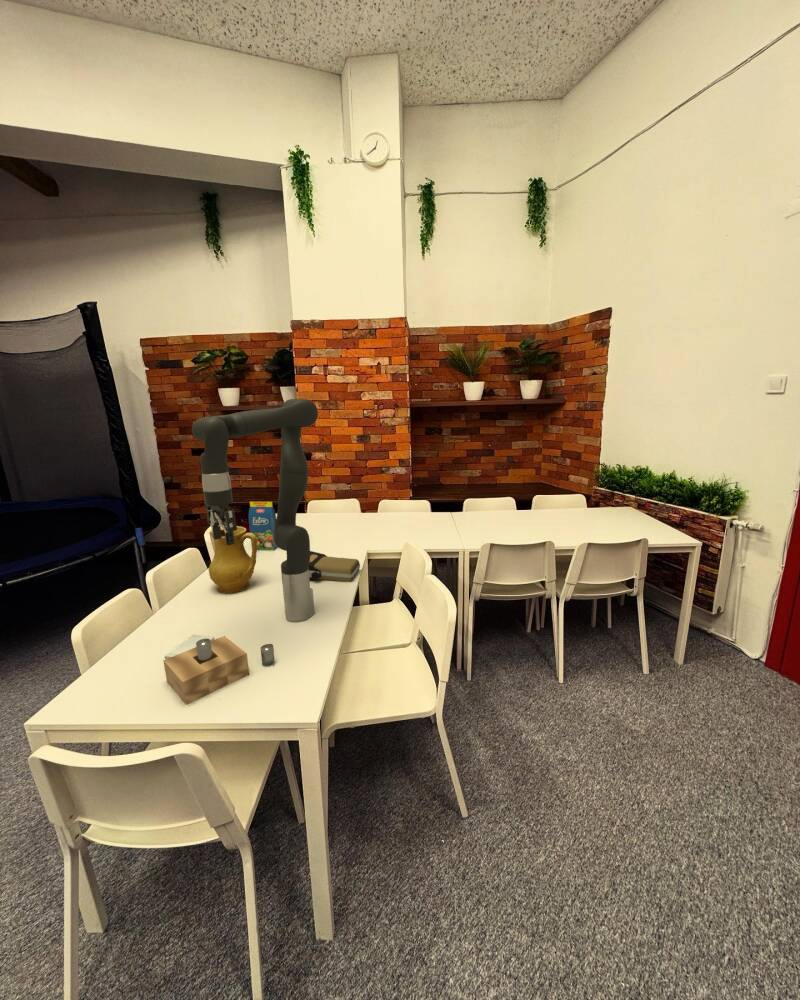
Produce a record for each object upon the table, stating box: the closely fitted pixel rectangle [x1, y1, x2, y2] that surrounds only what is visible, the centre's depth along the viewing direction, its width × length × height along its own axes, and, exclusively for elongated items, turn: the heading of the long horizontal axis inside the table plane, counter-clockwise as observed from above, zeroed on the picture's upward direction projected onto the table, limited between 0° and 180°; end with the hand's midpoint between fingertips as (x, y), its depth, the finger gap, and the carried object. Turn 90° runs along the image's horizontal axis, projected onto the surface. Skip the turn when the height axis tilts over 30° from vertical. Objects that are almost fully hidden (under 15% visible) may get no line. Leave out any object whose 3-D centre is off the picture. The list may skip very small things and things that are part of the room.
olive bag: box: [308, 550, 361, 583], centre depth 191 cm, size 19×11×30 cm
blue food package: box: [248, 501, 278, 551], centre depth 226 cm, size 6×12×25 cm, turn 82°
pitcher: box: [208, 525, 258, 595], centre depth 178 cm, size 17×19×25 cm
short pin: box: [260, 643, 276, 667], centre depth 127 cm, size 4×4×5 cm
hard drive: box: [164, 634, 215, 660], centre depth 136 cm, size 2×8×12 cm
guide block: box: [162, 635, 250, 705], centre depth 121 cm, size 17×14×6 cm
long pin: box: [196, 639, 213, 664], centre depth 120 cm, size 4×4×11 cm
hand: (223, 541), depth 130 cm, fingers open, 8 cm apart
